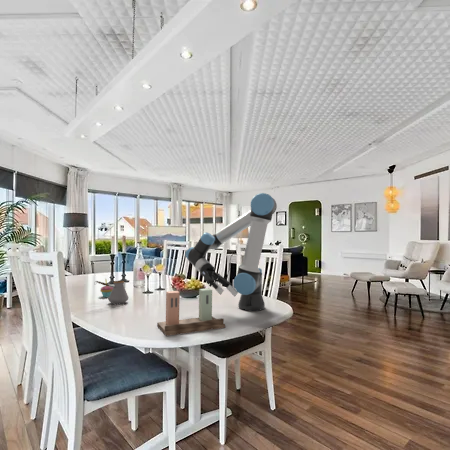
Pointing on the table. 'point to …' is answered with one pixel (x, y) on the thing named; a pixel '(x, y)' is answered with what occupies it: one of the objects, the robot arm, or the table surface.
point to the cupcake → (106, 290)
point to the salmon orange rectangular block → (172, 307)
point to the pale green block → (205, 304)
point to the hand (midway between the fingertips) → (229, 293)
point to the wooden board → (190, 326)
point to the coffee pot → (117, 292)
